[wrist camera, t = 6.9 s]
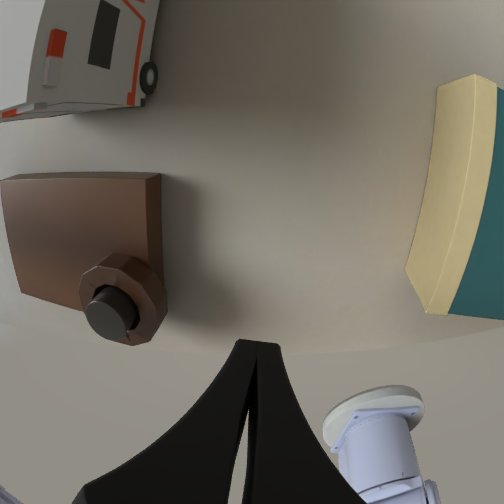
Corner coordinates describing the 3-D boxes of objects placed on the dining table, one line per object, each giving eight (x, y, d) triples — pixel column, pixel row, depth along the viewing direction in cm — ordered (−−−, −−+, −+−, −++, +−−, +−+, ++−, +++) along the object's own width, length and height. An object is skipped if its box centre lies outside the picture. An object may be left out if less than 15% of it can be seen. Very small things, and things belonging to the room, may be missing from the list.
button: (140, 328, 17) (129, 345, 15) (103, 319, 17) (90, 335, 15) (134, 290, 16) (121, 306, 14) (96, 282, 16) (80, 297, 14)
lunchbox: (529, 325, 11) (425, 313, 13) (498, 287, 16) (404, 270, 17) (579, 138, 6) (475, 73, 8) (534, 131, 11) (436, 87, 13)
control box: (179, 317, 21) (161, 353, 17) (36, 284, 21) (10, 306, 18) (177, 173, 16) (149, 186, 13) (17, 174, 17) (-17, 186, 14)
